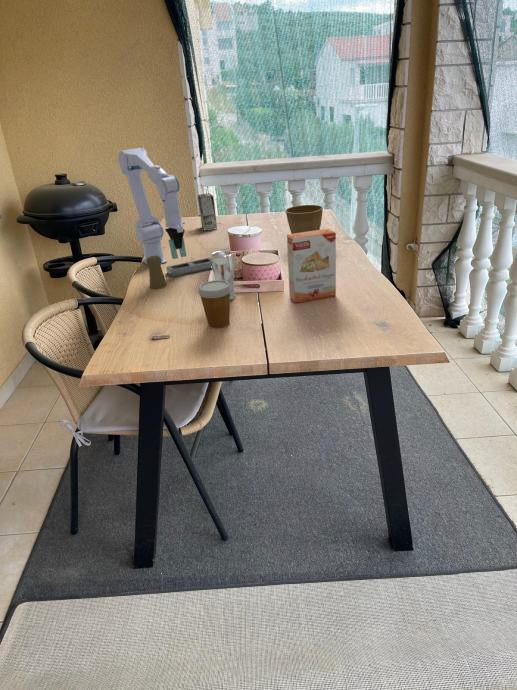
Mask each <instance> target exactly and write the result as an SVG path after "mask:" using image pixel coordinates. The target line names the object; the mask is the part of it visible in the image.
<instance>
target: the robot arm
mask: <svg viewBox="0 0 517 690" xmlns="http://www.w3.org/2000/svg"><path fill="white" fill-rule="evenodd" d="M117 156H118V157H117V160H118V164H119V167H120V169H121V173H122V175H124V176H126V178H127V182H128V185H129V188H130V191H131V195H132V197H133V201H134V204H135V207H136V211H137V214H138V217H139V218H138V220H137V221H136V223H135V224H134V227H135V233H136V237H137V239H138V241H140V242H141V243H142V251H143V256H144V259H142V261H143V262H144V263H145V264H146V265H147V258H148V257H150V256H159V257H160V258H161V261H162V262H161V264H165V263H168V260H167V259H165V257H164V253H163V252H164V251H163V246H162V240H163V237H164V234H165V232H166V233H167V235H168V237H169V240H170V239H173V241H174V245H175V248H176V250H179V249H181V248H182V240H183V238H184V235H185V232H186V231H185V230H186V229H184V227H183V225H184V224H186V222H185V221H184V220H182V215H181V208H180V202H179V195H178V192H179V191H180V188H181V187H180V181H179V179H178V177H177V176H176V175H172V174H168V173H167V172H166V170H164V169H163V168H162V167H161V166H160V165H156V164H155V165H154V163H153V162H152V160H151V159H150V158H149V156H148V152H147V150H146V149H145V148H144V147H143V146H142V147H137V148H132V149H131V148H130V149H124V150H123V149H121V150H119V151H118V155H117ZM143 171H144V172H146V173H147V177H148V178H149V180H150V181H151V182H152V183H154V185H156V189H157V191H158V193H159V197H160V200H161V201H162V207H163V212H164V213H163V214H164V219H165V220H164V221H165V227H166V228H165V229H164V227H163V225H162V223H161V220H160V218H158V217H156V216H155V215H153V214H152V210H151V208H150V207H151V206H150V203H149V201H148V197H147V194H146V192H145V191H146V190H145V188H144V185H143V182H142V179H141V173H142V172H143Z"/></svg>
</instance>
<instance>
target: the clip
mask: <svg viewBox="0 0 517 690" xmlns="http://www.w3.org/2000/svg"><path fill="white" fill-rule="evenodd" d="M168 245H169V248H170V249H169V250H170V256H171V258H172V259H173V260H176V259H179V257H178V251H177V250H179V255H180V257H181V258H185V257H187V252H186V251H187V250H186V244H185V239H184V237H183V240H182V248H181V249H176V248H175V245H174V241H173V239H170V238H169V239H168Z"/></svg>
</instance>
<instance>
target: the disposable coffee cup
mask: <svg viewBox="0 0 517 690" xmlns="http://www.w3.org/2000/svg"><path fill="white" fill-rule="evenodd" d="M230 291H231V287H230V285H229V283H228V282H226V281H222V280H215V279H214V280H210V281H209V280H208V281H206V282H203V283H201V284H200V285H199V287H198V290H197V293H198V295H199V296H200V300H201V302H202V306H203V310H204V313H205V318H206V320H207V324H208V325H207V326H209V327H210V328H215V329H219V328H225V327H227V326H228V325H230V313H231V312H230V311H231V310H230V309H231V308H230V303H231V300H230Z"/></svg>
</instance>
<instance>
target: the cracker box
mask: <svg viewBox="0 0 517 690" xmlns="http://www.w3.org/2000/svg"><path fill="white" fill-rule="evenodd" d="M336 240H337V233H336V231H334V230H331V229H330V228H324V229H320V230H315V231H308V232H301V233H294V234H291V233H289V234H286V241H287V264H288V265H287V266H288V286H289V287H288V289H289V298H290V299H291V300H292V301H293V302H294V303H295V304H297V303H303V302H309V301H314V300H321V299H326V298H332V297H335V296H336V295H337V294H336V293H337V291H336V290H337V284H336V283H337V280H336V279H337V277H336V276H337V271H336V270H337V267H336V266H337V261H336V260H337V258H336V257H337V241H336Z"/></svg>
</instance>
